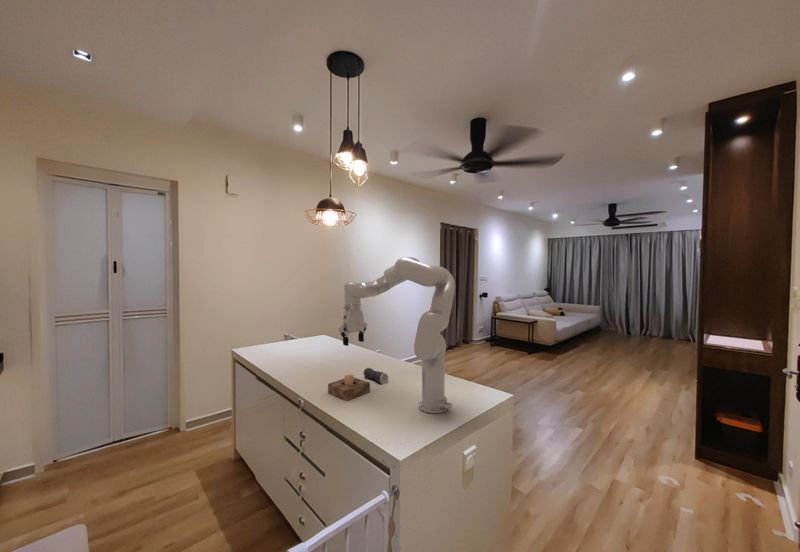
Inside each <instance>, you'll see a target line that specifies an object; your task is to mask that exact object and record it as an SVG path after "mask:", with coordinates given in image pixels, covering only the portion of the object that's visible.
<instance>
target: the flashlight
mask: <svg viewBox="0 0 800 552" xmlns="http://www.w3.org/2000/svg"><path fill="white" fill-rule="evenodd" d="M363 375H364V377H365V378H368V379H372V380H374V381H375V382H378V383H379V384H382V385H384V384H385V385H386V384H387V383H388V380H389V374H388V373H386V372H383V371H376V370H374V369H373V368H370V367H366V368H364V370H363Z"/></svg>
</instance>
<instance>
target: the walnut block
mask: <svg viewBox="0 0 800 552" xmlns="http://www.w3.org/2000/svg"><path fill="white" fill-rule="evenodd" d="M370 385H371V384H370V382H368V381H366V380H365V379H364V380H363V379H361V378H357V377H354V376H353V385H351V386H345V377H343V378H342V379H339V380H335V381H332V382H329V383H327V389H328V390H327V394H329V395H331V396H333V397H337V398H338V399H341V400H343V401H345V402H348V401H351V400H353V399H357V398H358V397H361V396H363V395H366V394H368V393H370V391H371V388H370V387H371V386H370Z"/></svg>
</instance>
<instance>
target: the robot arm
mask: <svg viewBox="0 0 800 552" xmlns="http://www.w3.org/2000/svg"><path fill="white" fill-rule="evenodd" d="M406 281H409V282H413V283H414V284H417V285H420V286H423V287H429V288H430V287H435V289H434V293H433V296H432V298H431V304H430V308H429V310H428V311H426V312H423V314H422V315H421V317H420V318H419V320H418V323H417V329H416V333H415V338H414V344H413V351H414V354H415V356H416V358H417V359H419V360H420V361H422V364H421V400H420V401H419V403H418V408H419V410H420V411H422V412H425V413H427V414H435V413H436V414H443V413H444V411H445V412H447V411H451V410H452V409H453V408H452V407H453V403H451V402H449V401H448V397H447V396H446V393H445V392H446V391H445V390H446V389H445V385H446V384H445V379H446V378H445V376H446V375H445V374H446V373H445V371H446V369H445V368H446V366H445V364H446V363H445V362H446V352H447V342H446V340H445V337H444V336H443V335H442V334H441V332H442V331H444V330H446V329H447V328H448V325H449V323H450V316H451V312H452V308H453V301H454V296H455V293H456V292H455V290H456V282H455V279H454V277H453V275H452V274H451V272H450V271H449V270H448V269H446V268H445V267H443V266H440V265H428V264H425V263H422V262H420V260H419V259H418V258H416V257H412V256H411V257H410V256H402V257H400V258H398V259H397V260H396V261H395V262H394V265H392V266H390V267H387V268H386V269H385V270H384V271H383V275H382V276H380V277H378V278H376V279H374V280H371V281H369V280H368V281H359V282H356V281H353V282H352V281H351V282H345V283H344V306H343V310H344V312H343V316H342V317H343V318H342V325H341V326H340V327H339V328H337V330H338V332H339V335H340V336H341V337H342V344H343V346H347V347H348V346H349V337H348V336H349V334H350V333H351V334H353V333H357V332H358V334H357V335H358V337H357V338H358V342H360V343H364V342H365V337H364V335H365V331H366V330H367V327H368V323H367V322H365V320H364V319H365V318H364V313H363V310H362V309H361V306H362V305H361V299H366V298H371V297H377V296H380V295H381V294H383V293H385V292H388V291H389V290H391V289H392V288H394V287H395V286H398V285H400V284H403V283H404V282H406ZM447 409H448V410H447ZM446 410H447V411H446Z"/></svg>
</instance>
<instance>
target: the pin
mask: <svg viewBox="0 0 800 552" xmlns="http://www.w3.org/2000/svg"><path fill="white" fill-rule="evenodd" d="M353 377H354V375H353V374H346V375H344V378H345V386H351V385H353Z"/></svg>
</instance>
